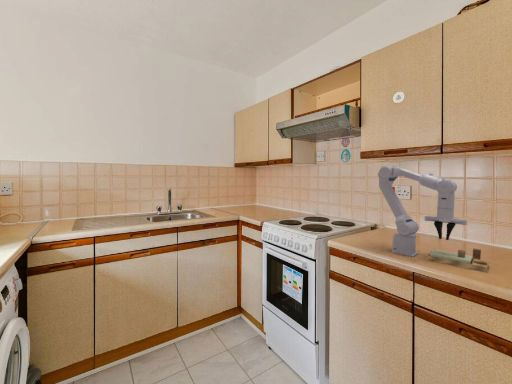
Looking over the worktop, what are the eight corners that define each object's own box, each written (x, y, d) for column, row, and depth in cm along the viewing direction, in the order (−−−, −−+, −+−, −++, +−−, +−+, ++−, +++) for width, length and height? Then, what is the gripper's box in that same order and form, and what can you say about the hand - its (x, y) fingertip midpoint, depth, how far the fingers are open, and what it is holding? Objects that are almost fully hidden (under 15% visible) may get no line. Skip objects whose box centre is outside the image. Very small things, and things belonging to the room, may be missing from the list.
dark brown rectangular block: (472, 261, 109) (473, 248, 109) (480, 263, 108) (481, 249, 107) (472, 263, 108) (473, 249, 107) (479, 264, 106) (480, 250, 106)
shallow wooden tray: (426, 261, 110) (426, 255, 109) (431, 256, 117) (431, 251, 116) (486, 273, 96) (487, 267, 96) (488, 267, 103) (488, 261, 103)
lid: (429, 255, 109) (430, 247, 109) (434, 251, 115) (434, 243, 115) (470, 263, 99) (470, 255, 99) (472, 258, 106) (473, 250, 106)
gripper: (423, 207, 110) (422, 237, 111) (466, 210, 100) (464, 244, 101) (427, 206, 115) (425, 235, 116) (468, 209, 105) (466, 241, 106)
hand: (443, 239), depth 109 cm, fingers closed
